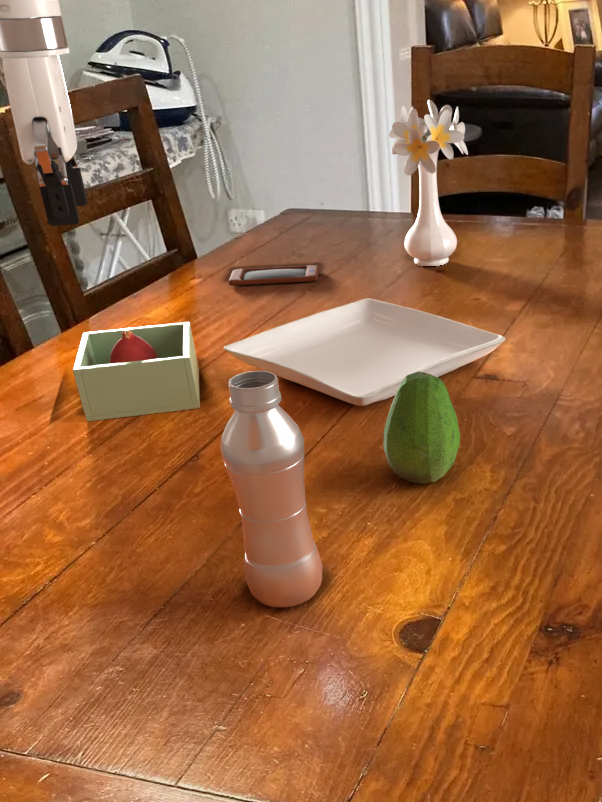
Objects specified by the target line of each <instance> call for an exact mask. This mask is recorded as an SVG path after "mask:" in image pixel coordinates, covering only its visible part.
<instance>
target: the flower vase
mask: <svg viewBox="0 0 602 802" xmlns="http://www.w3.org/2000/svg"><path fill="white" fill-rule="evenodd" d="M427 106H428V111H429V114H425V115H424V116H423V118H422V117H419V115H418V111H417V109H416V108H414V106H413V105H412V106H411V107H410V108H409V111H407V108H406V106H405V105H402V106H401V108H400V111H399V121H395V122H393V123H392V124H391V130H390V131H389V134H388V136H389V138H391V139H395V138H396V139H395V140H394V142H393V144H392V147H391V154H392V155H399V156H403V157H407V158H406V160H405V163H404V167H403V172H404V174H405V175H406V176H412V175H413V174H414V173H415V172H416V171H417V169H418V176H419V178H418V179H419V180H418V181H419V202H418V203H419V206H418V211H417V217H416V219H415V222H414V223H413V224H412V226H411V227H410V229H408V231H407V233H406V235H405V237H404V242H403V246H404V249H405V251H406V253H407V254H408V255H409V256H411V257H412V258H413V262H414V265H416V264H417V265H416V266H418V267H423V266H436V267H441V266H440V265H442V266H444V264H445V265H447V264H448V263H449V261H450V258H449V257H450V256H451V255H453V253H454V252H456V248H457V246H458V239H457V236H456V234H455V232H454V230H453V229H452V227H450V225H448V223H447V222H446V221H445V219H444V217H443V215H442V212H441V207H440V202H439V191H438V176H437V169H438V158H439V152H440V150H441V152H442V153H443V155H444V156H445V157H446V158H447V159H448V160H453V159H454V155H455V154H454V150H453V147H452V146H451V145H452V144H454V145H455V146H456V147H457V148H458V149H459V151H460V153H461V154H462V155H464V154H465V155H467V156H468V155H469V151H468V148H467V145H466V143H465V141H464V140H465V133H466V126H465V125H466V124H465V123H464V122H463V121H461V122H459V119H460V111H459V106H456V108H455V112H454V117H453V120H452V116H453V115H452V114H453V109H452V107H451V105H449V104H445V105H444V106H442V107H441V109H440V111H438V110H439V109H438V108H437V105H436V104H435V103H434V102H433V100H431V99H428V100H427ZM446 263H447V264H446Z"/></svg>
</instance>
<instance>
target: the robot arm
mask: <svg viewBox="0 0 602 802" xmlns="http://www.w3.org/2000/svg"><path fill="white" fill-rule="evenodd" d="M68 44H69V43H68V39H67V35H66V29H65V25H64V21H63V16H62V11H61V7H60V2H59V0H0V59H2V60H1V61H2V68H3V74H4V80H5V86H6V91H7V97H8V100H9V106H10V110H11V116H12V119H13V124H14V128H15V133H16V137H17V142H18V147H19V152H20V155H21V160H22V161H23V163H25V164H27V165H32V164H33V163H34V162H35V164H36V166H35V167H36V173H37V179H38V184H39V186H38V187H39V192H40V196H41V199H42V203H43V207H44V213H45V216H46V220H47V223H48V225H49V226H51V227H59V226H61V227H62V226H74V225H75V226H76V225H79V224H80V216H79V215H80V214H79V211H78V207H83V206H86V205H87V204H88V198H87V193H86V188H85V185H84V180H83V176H82V171H81V167H79V162H78V159H77V155H76V151H77V149H78V140H77V133H76V129H75V123H74V117H73V112H72V108H71V104H70V103H71V102H70V97H69V95H68V90H67V85H66V81H65V76H64V72H63V68H62V64H61V60H60V59H61V58H60V56H62V55H67V54H68V55H69V54H70V49H69V45H68Z"/></svg>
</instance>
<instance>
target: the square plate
mask: <svg viewBox="0 0 602 802" xmlns="http://www.w3.org/2000/svg"><path fill="white" fill-rule="evenodd" d="M505 341H506V337H505V336H503V335H501V334H497V333H494V332H491V331H488V330H485V329H481V328H478V327H475V326H472V325H469V324H465V323H462V322H459V321H457V320H456V321H455V320H453V319H450V318H446V317H444V316H440V315H437V314H432V313H429V312H427V311H426V312H425V311H422V310H419V309H414V308H410V307H408V306H407V307H406V306H403V305H399V304H395V303H391V302H387V301H382V300H378V299H374V298H363V299H359V300H357V301H354V302H350V303H347V304H343V305H340V306H336V307H333V308H329V309H326V310H323V311H320V312H317V313H314V314H310V315H307V316H304V317H302V318H299V319H296V320H293V321H290V322H287V323H285V324H282V325H279V326H276V327H273V328H271V329H268V330H265V331H263V332H262V331H261V332H260V333H257V334H254V335H252V336H249V337H247V338H243V339H241V340H238V341H235V342H233V343H230V344H227V345H224V346H223V350H224V351H226V352H227V353H229V354H230V355H232V356H233V357H234V358H235V359H237V360H238V361H240V362H242V363H244V364H246V365H248V366H250V367H253V368H256V369H259V370H261V371H268V372H272V373H274V374H275V375H276V376H277V377H279V378H281V379H284V380H287V381H290V382H292V383H295V384H298V385H301V386H302V387H303V386H304V387H306V388H308V389H311V390H314V391H317V392H319V393H322V394H324V395H327V396H330V397H332V398H335V399H338V400H340V401H343V402H345V403H349V404H352V405H354V406H358V407H359V406H360V407H365V406H369V405H370V404H373V403H377V402H382V401H384V400H387V399H390V398H392V397H395V395H396V393H397V390H398V388H399V386H400V384H401V382H402V381H403V380H404V378H405V377H406V376H407V375H409V374H412V373H415V372H419V371H422V372H426V373H429V374H431V375H433V376H436V377H438V378H440V377H441V376H443V375H446V374H448V373H450V372H453V371H455V370H457V369H459V368H461V367H463V366H466V365H468V364H470V363H472V362H474V361H477V360H479V359H481V358H483V357H486V356H488V355H489V354H490V353H492V352H493V351H495V350H496V349H498V348H499V346H501V344H502V343H504V342H505Z"/></svg>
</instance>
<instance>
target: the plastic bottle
mask: <svg viewBox="0 0 602 802" xmlns="http://www.w3.org/2000/svg"><path fill="white" fill-rule="evenodd" d="M228 390H229V406H230V407H231V409H232V410H234V412H233V414H232V415H231V417H230V418H229V420H228V422H227V423H226V425H225V428H224V430H223V432H222V435H221V438H220V447H219V450H220V453H221V458H222V461H223V463H224V467H225V469H226V472H227V474H228V477H229V480H230V483H231V485H232V488H233V491H234V494H235V498H236V502H237V505H238V509H239V514H240V517H241V523H242V533H243V543H244V544H243V545H244V561H243V562H244V579H245V582H246V585H247V587H248V589H249V591H250V594H251V595H252V597H254V599H256V600H257V601H258V602H260V603H261V604H263V605H265V606H268V607H271V608H289V607H295V606H298V605H301V604H303V603H305V602H307V601H309V600H310V599H312V598H313V597H314V596H315V595H316V593H317V592H318V590H319V588H320V587H321V585H322V582H323V581H322V580H323V562H322V560H321V556H320V552H319V549H318V547H317V545H316V542H315V540H314V536H313V532H312V527H311V524H310V519H309V516H308V511H307V509H308V508H307V502H306V501H307V500H306V490H305V489H306V487H305V438H304V436H303V433H302V431H301V429H300V426H299V425H298V424H297V423H296V422H295V421H294V419H293V418H292V416H290V414H288V413H287V412H286V411H285V410H284V409H283V408H282V407H281V406H280V405H279V404H280V403H281V402H282V393H281V391H280V386H279V379H278V376H277V375H275V374H274V373H272V372H268V371H264V370H251V371H244V372H241V373H238V374H236V375H234V376H231V377H230V379H229V380H228Z"/></svg>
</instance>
